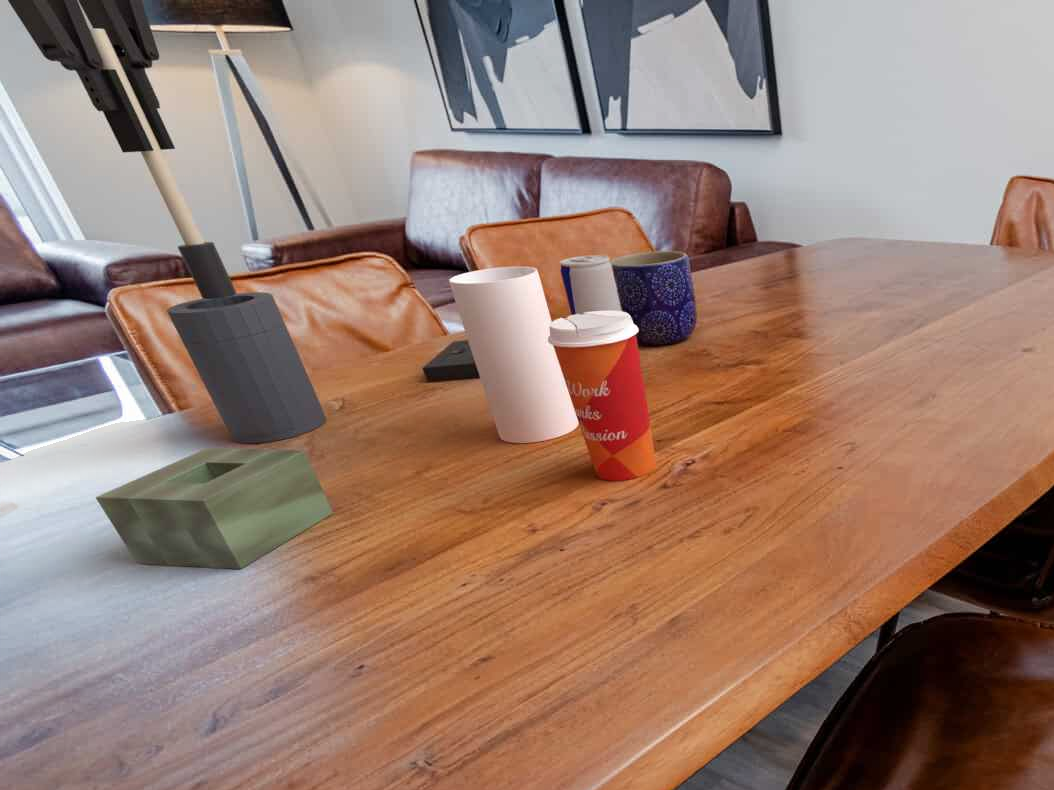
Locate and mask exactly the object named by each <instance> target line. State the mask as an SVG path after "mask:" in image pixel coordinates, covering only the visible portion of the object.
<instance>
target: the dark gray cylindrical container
mask: <svg viewBox="0 0 1054 790" xmlns="http://www.w3.org/2000/svg"><path fill="white" fill-rule="evenodd" d="M166 312H167V314H168V317H169V319H170V320H171V323H172V324H173V327H174V328H175V331H176V332H177V334H178V336H179V337H180V339H181V342H182V344H183V346H184V348H185V350H186V351H187V354H188V356H189V358H190V360H191V361H192V363H193V365H194V367H195V369H196V371H197V373H198V375H199V377H200V379H201V381H202V383H203V385H204V387H205V389H206V391H207V392H208V395H209V396H210V399H211V401H212V402H213V405H214V407H215V408H216V410H217V413H218V415H219V416H220V418H221V421H222V422H223V424H224V426H225V428H226V430H227V432H228V433H229V435H230V437H231V439H232V440H233V441H234V442H236V443H239V444H248V445H249V444H265V443H272V442H277V441H282V440H286V439H291V438H295V437H298V436H301V435H304V434H306V433H309V432H312V431H314V430H316V429H318V428H320V427H321V426H323V425H324V424H325V423H326V421H327V417H326V415H325V412H324V408H323V407H322V404H321V402H320V400H319V397H318V396H317V395H318V394H317V392H316V391H315V389H314V386H313V384H312V382H311V380H310V377H309V375H308V373H307V371H306V368H305V366H304V363H303V362H302V359H301V357H300V354H299V352H298V350H297V348H296V346H295V343H294V341H293V338H292V336H291V334H290V332H289V329H288V327H287V325H286V323H285V320H284V318H283V316H282V314H281V311H280V309H279V307H278V304H277V302H276V300H275V298H274V296H273V294H271V293H269V292H262V291H261V292H260V291H259V292H240V293H239V292H237V293H236V294H234V295H231V296H227V297H221V298H213V299H203V298H199V299H194V300H190V301H186V302H185V301H184V302H183V303H178V304H175V305H172V306H170V307H168V308H167V309H166Z"/></svg>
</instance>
